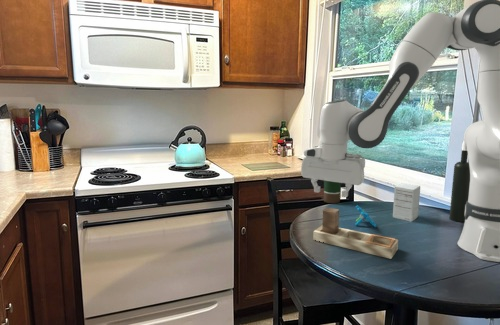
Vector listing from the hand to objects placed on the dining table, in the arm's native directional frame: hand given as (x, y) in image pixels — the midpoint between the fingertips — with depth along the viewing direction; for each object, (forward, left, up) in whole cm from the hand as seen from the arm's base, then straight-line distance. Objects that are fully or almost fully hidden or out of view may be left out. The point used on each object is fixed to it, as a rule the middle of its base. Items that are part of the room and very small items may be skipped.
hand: (330, 194), depth 111 cm
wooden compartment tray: (-8, 0, -15) cm, 17 cm away
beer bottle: (+16, -41, -16) cm, 47 cm away
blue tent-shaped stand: (-6, -19, -16) cm, 25 cm away
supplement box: (-16, -36, -16) cm, 43 cm away
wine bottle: (-33, -44, -16) cm, 57 cm away
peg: (0, 0, -15) cm, 15 cm away
